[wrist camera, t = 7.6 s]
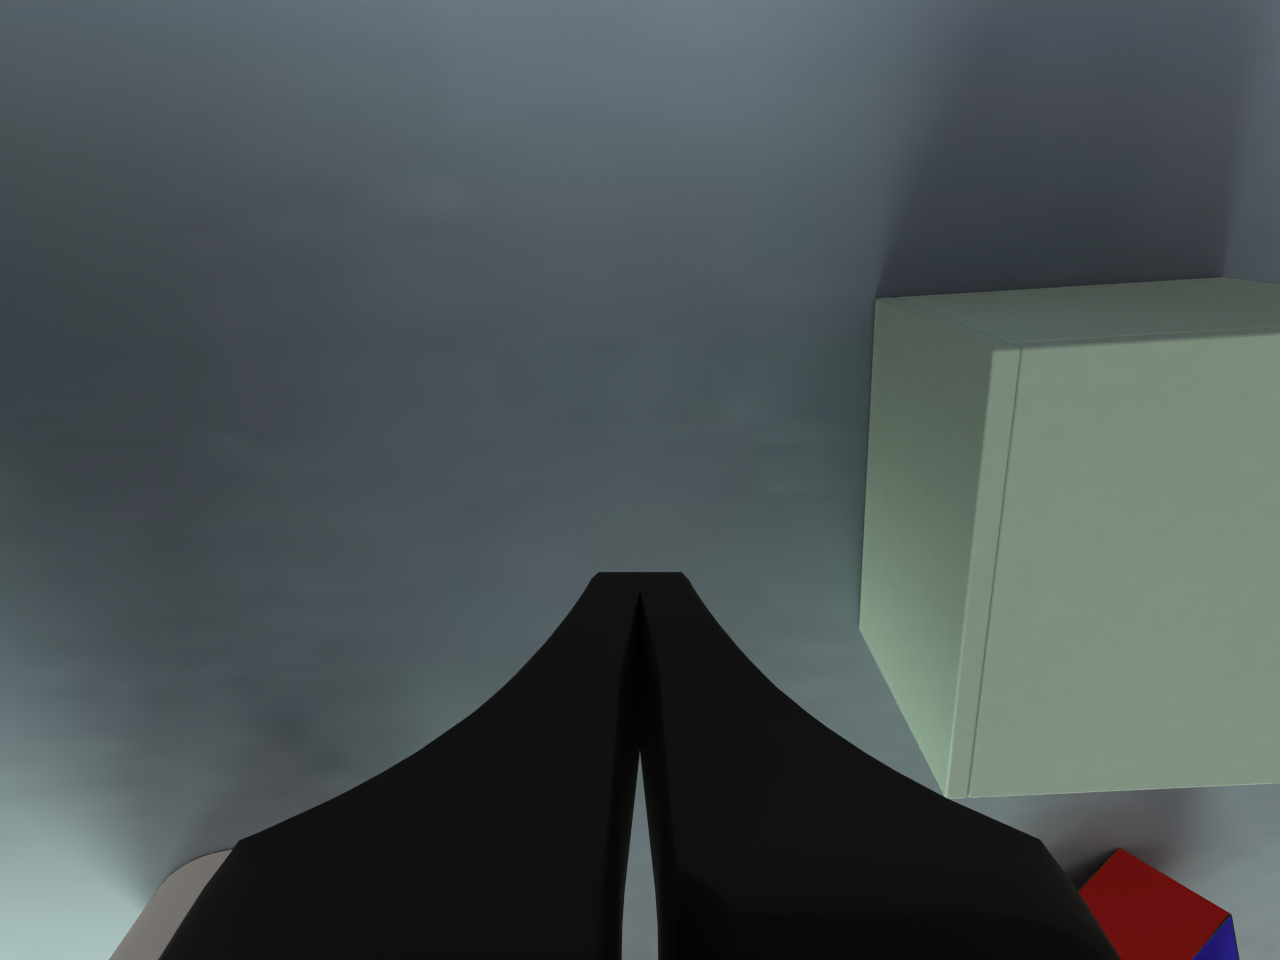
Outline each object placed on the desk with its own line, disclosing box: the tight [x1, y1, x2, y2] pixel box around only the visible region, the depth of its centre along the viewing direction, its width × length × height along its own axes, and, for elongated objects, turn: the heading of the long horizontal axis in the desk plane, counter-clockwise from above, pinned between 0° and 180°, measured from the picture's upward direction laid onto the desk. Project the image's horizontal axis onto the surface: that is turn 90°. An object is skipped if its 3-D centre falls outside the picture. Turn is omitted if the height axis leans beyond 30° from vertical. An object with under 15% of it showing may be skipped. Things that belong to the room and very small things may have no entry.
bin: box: [859, 277, 1280, 799], centre depth 18 cm, size 7×10×9 cm
